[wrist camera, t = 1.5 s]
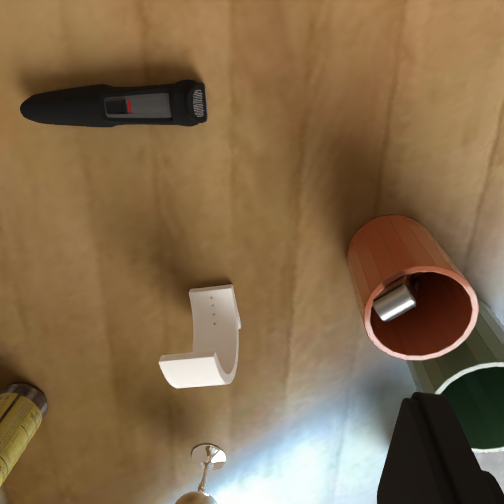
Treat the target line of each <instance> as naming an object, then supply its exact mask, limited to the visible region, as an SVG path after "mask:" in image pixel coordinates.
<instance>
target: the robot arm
mask: <svg viewBox="0 0 504 504" xmlns="http://www.w3.org/2000/svg"><path fill="white" fill-rule="evenodd" d="M377 504H504V494H503V492H502V490H501V488H500V486H499V484H498V482H497V481H496V479H495V477H494V476H493V475H492V474H490V473H489V472H487V471H482V470H481V468H480V466H479V464H478V462H477V459H476V457H475V455H474V453H473V451H472V449H471V446H470V444H469V442H468V440H467V438H466V436H465V434H464V431H463V429H462V427H461V425H460V423H459V421H458V418H457V416H456V414H455V412H454V410H453V408H452V406H451V403H450V401H449V400H448V398H447V397H446V396H445V395H442V394H433V393H424V392H414V393H413V394H412V397H411V399H410V398H404V399H403V401H402V403H401V407H400V411H399V414H398V418H397V421H396V425H395V429H394V432H393V436H392V439H391V443H390V447H389V450H388V454H387V457H386V461H385V465H384V468H383V472H382V475H381V479H380V483H379V486H378V491H377Z"/></svg>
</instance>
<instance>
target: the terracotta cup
mask: <svg viewBox="0 0 504 504" xmlns="http://www.w3.org/2000/svg"><path fill="white" fill-rule="evenodd" d="M347 264H348V268H349V272H350V275H351V279H352V283H353V286H354V290H355V294H356V297H357V301H358V305H359V308H360V312H361V316H362V319H363V323H364V326H365V329H366V332H367V335H368V337H369V338H370V339H371V341H372V342H373V343H374V344H375V346H376V347H377V348H379V349H380V350H382V351H383V352H385V353H387V354H388V355H390V356H393V357H396V358H400V359H404V360H427V359H431V358H435V357H439V356H442V355H444V354H446V353H448V352H450V351H452V350H454V349H455V348H457V347H458V346H459V345H460V344H461V343H462V342H463V341H464V340H465V339H467V338H468V336H469V335H470V333H471V331H472V330H473V328H474V326H475V325H476V322H477V317H478V312H479V305H478V300H477V295H476V292H475V291H474V289H473V288H472V286H471V285H470V283H469V282H468V280H467V279H466V278H465V277H464V275H463V274H462V273H461V272H460V270H459V269H458V268H457V266H456V265H455V264H454V263H453V261H452V260H451V259H450V258H449V256H448V255H447V254H446V253H445V251H444V250H443V249H442V248H441V246H440V245H439V244H438V243H437V241H436V240H435V239H434V237H433V236H432V235H431V234H430V232H429V231H428V230H427V229H426V228H425V227H424V226H423V225H422V224H421V223H419V222H418V221H416V220H414V219H412V218H409V217H406V216H402V215H387V216H382V217H378V218H376V219H373V220H371V221H369V222H368V223H366V224H365V225H363V226H362V227H361V228H360V229H359V230H358V231H357V232H356V233H355V235H354V236H353V238H352V239H351V241H350V244H349V247H348V251H347ZM408 274H411V276H410V278H409V280H410V281H411V280H413V279H415V278H417V277H418V279H419V280H420V282H419V285H418V298H417V305H416V306H415V307H413V308H411V309H410V310H408V311H406V312H404V313H402V314H401V315H399V316H397V317H395V318H393V319H392V320H390V321H388V322H387V321H383V320H382V319H381V318H380V317H379V315H378V314H377V312H376V311H375V309H374V307H373V299H374V298H375V297H376V296H377V295H378V294H379V293H380V292H381V291H382V290H383V289H384V288H385V287H386V286H387V285H388V284H389V283H391V282H393V281H394V280H396V279H398V278H400V277H401V276H405V275H408Z"/></svg>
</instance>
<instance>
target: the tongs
mask: <svg viewBox="0 0 504 504" xmlns="http://www.w3.org/2000/svg"><path fill="white" fill-rule="evenodd" d="M410 276H411V274H408V275H405V276H401V277H400V278H398V279H396V280H394V281H393V282H391V283H389V284H388V285H387V286H386V287H385V288H384V289H383V290H382V291H381V292H380V293H379V294H378V295H377V296H376V297H375V298H374V299H373V307H374V309H375V311H376V312H377V314H378V315H379V317H380V318H381V319H382V320H383V321H387V322H388V321H390V320H392V319H393V318H395V317H397V316H399V315H401V314H402V313H404V312H406V311H408V310H410V309H411V308H413V307H415V306H416V305H417V298H418V285H419V282H420V280H419V279H418V277H417V278H415V279H413V280H411V281H410V280H409V278H410Z"/></svg>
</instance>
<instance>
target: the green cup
mask: <svg viewBox="0 0 504 504" xmlns="http://www.w3.org/2000/svg"><path fill="white" fill-rule="evenodd" d="M477 300H478V305H479V312H478V317H477V322H476V325H475V326H474V328H473V330H472V331H471V333H470V335H469V336H468V338H467V339H465V340H464V341H463V342H462V343H461V344H460V345H459V346H458V347H457V348H455V349H454V350H452V351H450V352H448V353H446V354H444V355H442V356H439V357H435V358H431V359H427V360H406V362H407V365H408V367H409V370H410V373H411V375H412V378H413V381H414V383H415V386H416V388H417V391H418V392H424V393H433V394H442V395H445V396H446V397H447V398H448V400H449V401H450V403H451V406H452V408H453V410H454V412H455V414H456V416H457V418H458V421H459V423H460V425H461V427H462V429H463V431H464V434H465V436H466V438H467V440H468V442H469V444H470V446H471V449H472V451H473V452H476V453H490V452H500V451H504V325H503V324H502V323H501V322H500V320H499V319H498V318H497V317H496V315H495V314H494V313H493V312H492V310H491V309H490V308H489V307H488V306H487V305H486V304H485V303H484V302H483V301H481V300H480V299H478V298H477Z"/></svg>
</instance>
